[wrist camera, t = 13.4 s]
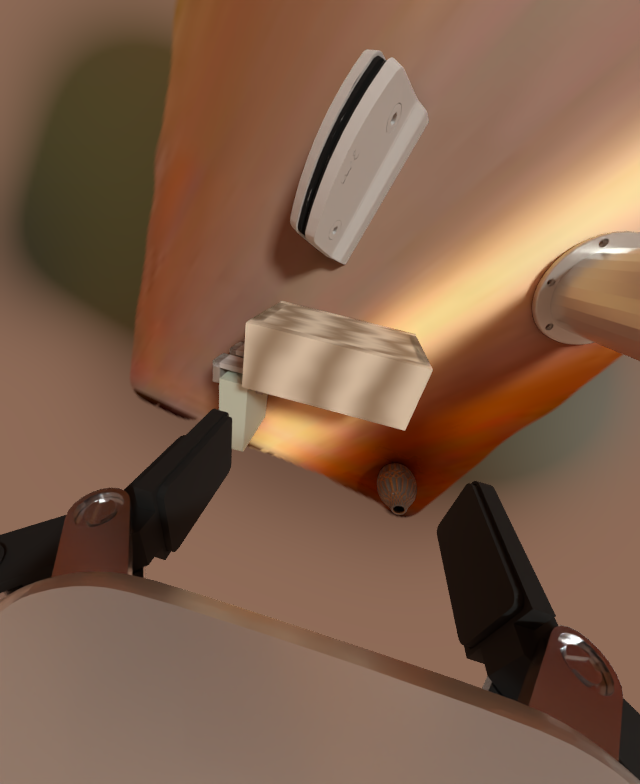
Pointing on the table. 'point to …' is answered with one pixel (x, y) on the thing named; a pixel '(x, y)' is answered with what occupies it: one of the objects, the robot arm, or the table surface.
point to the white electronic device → (357, 155)
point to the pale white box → (241, 408)
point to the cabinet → (331, 363)
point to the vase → (396, 487)
